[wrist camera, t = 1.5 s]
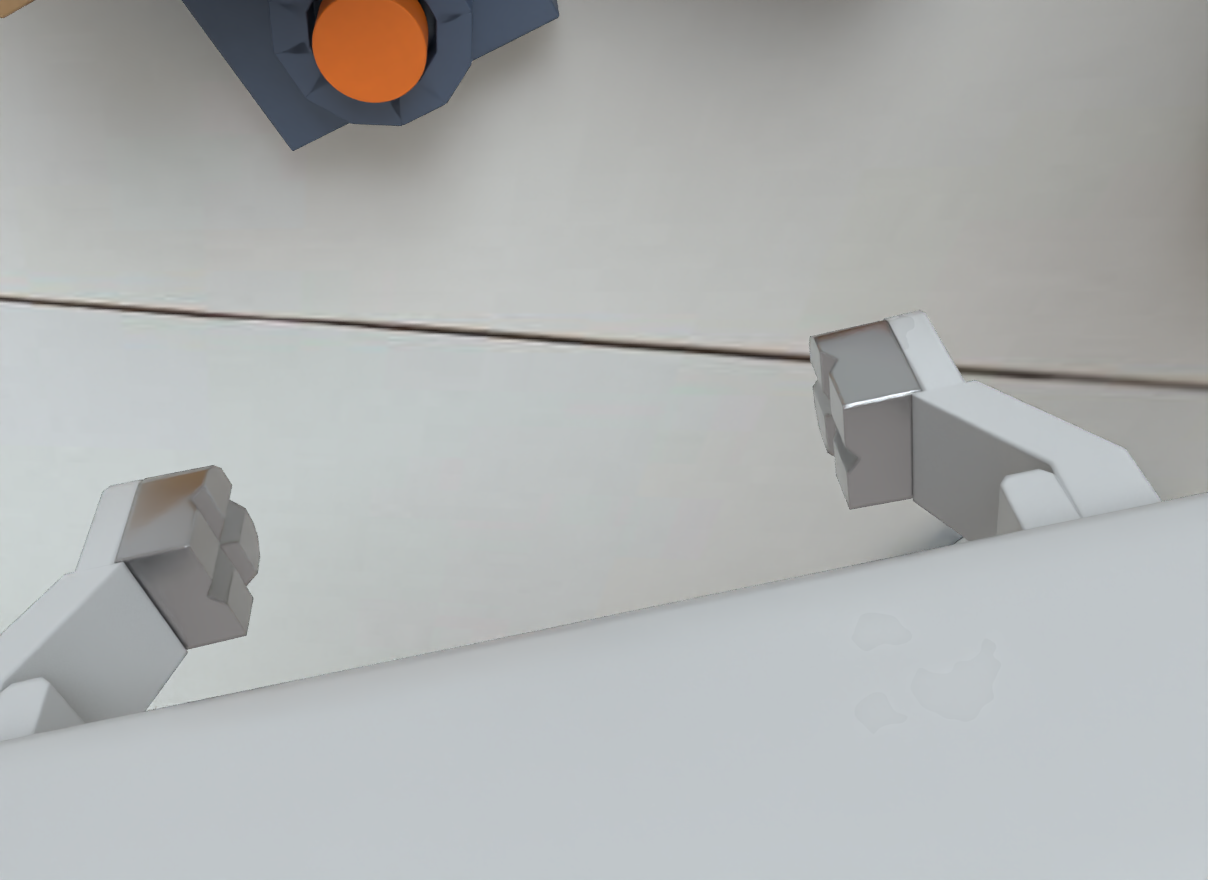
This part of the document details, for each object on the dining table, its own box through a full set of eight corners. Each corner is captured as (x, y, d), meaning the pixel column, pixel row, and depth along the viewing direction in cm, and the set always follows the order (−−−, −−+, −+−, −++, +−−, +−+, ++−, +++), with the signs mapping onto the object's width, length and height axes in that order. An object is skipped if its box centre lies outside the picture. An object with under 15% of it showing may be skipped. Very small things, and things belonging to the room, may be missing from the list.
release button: (295, 4, 36) (288, 25, 35) (390, -47, 35) (387, -28, 34) (357, 98, 39) (353, 121, 37) (448, 51, 38) (447, 73, 36)
